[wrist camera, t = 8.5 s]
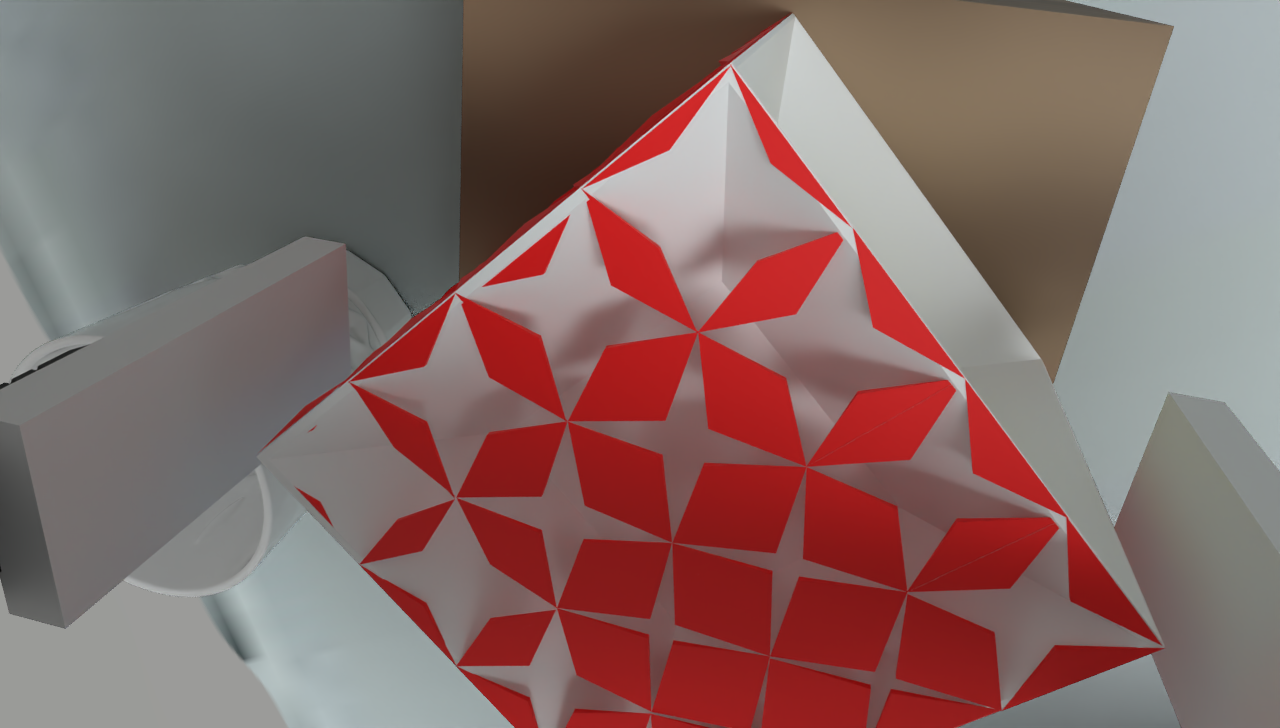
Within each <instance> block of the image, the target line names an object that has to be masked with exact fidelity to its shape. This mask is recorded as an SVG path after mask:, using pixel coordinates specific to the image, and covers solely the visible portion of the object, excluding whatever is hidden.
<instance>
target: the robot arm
mask: <svg viewBox="0 0 1280 728" xmlns="http://www.w3.org/2000/svg"><path fill="white" fill-rule="evenodd" d="M350 375H351V357H350V333H349V309H348V285H347V261H346V244H345V243H339V242H333V241H328V240H322V239H317V238H311V237H306V236H304V237H302V238H300V239H298V240H296V241H294V242H292V243H290V244H288V245H286V246H284V247H282V248H280V249H278V250H276V251H274V252H272V253H270V254H268V255H266V256H264V257H263V258H261V259H259V260H257V261H255V262H253V263H251V264H249V265H247V266H245V267H243V268H241V269H239V270H237V271H235V272H233V273H231V274H229V275H227V276H225V277H223V278H221V279H219V280H217V281H215V282H213V283H211V284H209V285H207V286H205V287H203V288H201V289H199V290H197V291H195V292H193V293H191V294H189V295H187V296H185V297H183V298H181V299H179V300H177V301H175V302H173V303H171V304H169V305H167V306H165V307H163V308H161V309H159V310H157V311H155V312H153V313H151V314H149V315H147V316H145V317H143V318H141V319H139V320H137V321H135V322H133V323H131V324H129V325H127V326H125V327H123V328H121V329H119V330H117V331H115V332H113V333H111V334H109V335H107V336H105V337H103V338H102V339H100V340H98V341H96V342H94V343H92V344H90V345H86V346H82V347H79V348H75V349H72V350H69V351H67V352H65V353H63V354H61V355H59V356H57V357H55V358H53V359H51V360H49V361H47V362H45V363H43V364H41V365H39V366H38V368H37V370H33V369H31V370H29V371H27V372H25V373H23V374H21V375H19V376H17V377H15V378H13V379H11V383H10V384H9V383H3V384H1V385H0V579H1V583H2V586H3V590H4V594H5V598H6V602H7V606H8V610H9V613H10V614H13V615H17V616H20V617H24V618H28V619H32V620H35V621H39V622H42V623H47V624H50V625H54V626H58V627H61V628H65V629H66V628H67V627H68V626H69V625H70V624H72V623H73V622H74V621H75V620H76V619H78V618H79V617H80V616H81V615H82V614H83V613H85V612H86V611H87V610H88V609H89V608H91V607H92V606H93V605H94V604H95V603H97V602H98V601H99V600H100V599H101V598H102V597H103V596H105V595H106V594H107V593H108V592H110V591H111V590H112V589H113V588H114V587H116V586H117V585H118V584H119V583H120V582H121V581H123V580H124V579H125V578H126V577H127V576H129V575H130V574H131V573H132V572H133V571H135V570H136V569H137V568H138V567H139V566H140V565H142V564H143V563H144V562H145V561H146V560H148V559H149V558H150V557H151V556H152V555H154V554H155V553H156V552H157V551H158V550H159V549H161V548H162V547H163V546H164V545H165V544H167V543H168V542H169V541H170V540H171V539H173V538H174V537H175V536H176V535H177V534H178V533H180V532H181V531H182V530H183V529H184V528H186V527H187V526H188V525H189V524H190V523H192V522H193V521H194V520H195V519H196V518H197V517H199V516H200V515H201V514H202V513H203V512H205V511H206V510H207V509H208V508H209V507H211V506H212V505H213V504H214V503H215V502H216V501H218V500H219V499H220V498H221V497H222V496H224V495H225V494H226V493H227V492H228V491H230V490H231V489H232V488H233V487H234V486H235V485H237V484H238V483H239V482H240V481H241V480H243V479H244V478H245V477H246V476H247V475H249V474H250V473H251V472H252V471H253V470H254V469H256V468H257V467H258V466H259V465H260V464H262V462H261V461H260V460H259V459H258V458H257V457H256V456H258V455H259V454H260V453H261V452H262V451H264V450H265V449H266V448H267V447H268V446H270V445H271V444H272V443H273V442H275V441H276V440H277V439H278V438H279V437H281V436H282V435H283V434H284V433H285V432H287V431H288V430H289V429H290V428H291V427H293V426H294V425H295V424H296V423H297V422H299V421H300V420H301V419H302V418H303V417H305V416H306V415H307V414H308V413H309V412H311V411H312V410H313V409H314V408H315V407H317V406H318V405H319V404H320V403H321V402H323V401H324V400H325V399H326V398H327V397H329V396H330V395H331V394H332V393H333V392H335V391H336V390H337V389H338V388H339V386H338V387H337V388H336V389H335V391H332V393H331V394H330V395H329V396H327V397H326V398H325V399H324V400H322V401H321V402H320V403H319V404H318V405H316V406H315V407H314V408H313V409H311V410H310V411H309V412H308V413H307V414H305V415H304V416H303V417H302V418H301V419H299V420H298V421H297V422H296V423H294V424H293V425H292V426H291V427H290V428H288V429H287V430H286V431H285V432H283V433H282V434H281V435H280V436H279V437H277V438H276V439H275V440H274V441H272V442H271V443H270V444H269V445H268V446H266V445H267V444H268V443H269V442H270V441H271V440H272V439H273V438H274V437H275V436H276V435H277V434H278V433H279V432H280V431H281V430H282V429H283V428H284V427H285V426H286V425H287V424H288V423H289V422H290V421H291V420H292V419H293V418H294V417H295V416H296V415H297V414H298V413H299V412H300V411H301V410H302V409H303V408H304V407H305V406H306V405H308V404H309V403H311V402H312V401H314V400H315V399H317V398H318V397H320V396H321V395H323V394H325V393H326V392H328V391H329V390H331V389H332V388H334V387H335V386H337V385H338V384H340V383H342V382H343V381H345V380H346V379H347V378H348V377H349V376H350ZM265 446H266V447H265ZM264 447H265V448H264ZM263 448H264V449H263ZM262 449H263V450H262ZM1114 529H1115V531H1116V533H1117V536H1118V538H1119V540H1120V543H1121V545H1122V547H1123V550H1124V552H1125V554H1126V557H1127V559H1128V561H1129V564H1130V566H1131V568H1132V571H1133V573H1134V575H1135V578H1136V580H1137V582H1138V585H1139V587H1140V589H1141V592H1142V594H1143V596H1144V599H1145V601H1146V603H1147V606H1148V608H1149V610H1150V613H1151V615H1152V617H1153V620H1154V622H1155V624H1156V627H1157V629H1158V631H1159V634H1160V636H1161V639H1162V641H1163V643H1164V646H1165V648H1164V649H1162V650H1159V651H1157V652H1154V653H1151V654H1152V656H1153V659H1154V661H1155V664H1156V666H1157V669H1158V671H1159V674H1160V676H1161V679H1162V681H1163V684H1164V686H1165V689H1166V691H1167V693H1168V696H1169V698H1170V701H1171V703H1172V706H1173V708H1174V711H1175V713H1176V716H1177V718H1178V721H1179V723H1180V726H1181V728H1280V471H1279V470H1278V469H1277V468H1276V466H1275V465H1274V464H1273V463H1272V461H1271V460H1270V459H1269V457H1268V456H1267V455H1266V454H1265V452H1264V451H1263V450H1262V449H1261V447H1260V446H1259V445H1258V444H1257V442H1256V441H1255V440H1254V439H1253V437H1252V436H1251V435H1250V434H1249V432H1248V431H1247V430H1246V429H1245V427H1244V426H1243V425H1242V423H1241V422H1240V421H1239V420H1238V418H1237V417H1236V416H1235V415H1234V413H1233V412H1232V411H1231V410H1230V408H1229V407H1228V406H1227V405H1226V403H1225V402H1220V401H1214V400H1209V399H1203V398H1197V397H1192V396H1186V395H1181V394H1175V393H1170V392H1169V393H1168V395H1167V398H1166V400H1165V403H1164V405H1163V408H1162V410H1161V412H1160V415H1159V417H1158V420H1157V422H1156V425H1155V427H1154V430H1153V432H1152V435H1151V437H1150V440H1149V442H1148V445H1147V447H1146V450H1145V452H1144V455H1143V457H1142V460H1141V462H1140V465H1139V467H1138V470H1137V472H1136V475H1135V477H1134V480H1133V482H1132V485H1131V487H1130V489H1129V492H1128V494H1127V497H1126V499H1125V502H1124V504H1123V507H1122V509H1121V512H1120V514H1119V517H1118V519H1117V522H1116V524H1115V527H1114Z"/></svg>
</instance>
